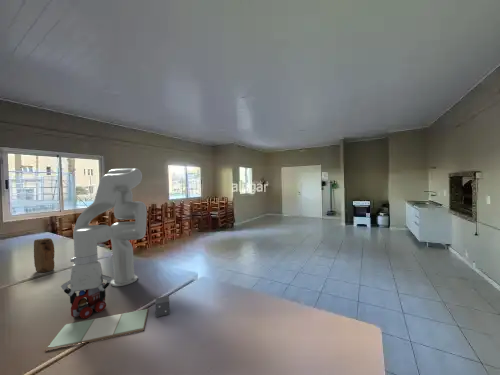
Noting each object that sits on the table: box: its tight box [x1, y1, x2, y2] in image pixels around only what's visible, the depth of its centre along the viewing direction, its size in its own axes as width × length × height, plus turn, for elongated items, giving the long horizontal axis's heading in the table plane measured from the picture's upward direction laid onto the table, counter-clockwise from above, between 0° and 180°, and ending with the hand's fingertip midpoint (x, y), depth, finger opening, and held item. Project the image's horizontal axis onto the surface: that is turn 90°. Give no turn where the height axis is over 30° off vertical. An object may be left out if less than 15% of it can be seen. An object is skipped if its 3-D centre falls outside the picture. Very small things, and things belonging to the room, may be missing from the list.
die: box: [155, 295, 171, 318], centre depth 91 cm, size 5×5×5 cm
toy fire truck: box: [70, 282, 107, 320], centre depth 93 cm, size 7×12×10 cm, turn 149°
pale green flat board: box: [47, 308, 149, 347], centre depth 83 cm, size 14×28×1 cm, turn 108°
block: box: [33, 237, 55, 273], centre depth 145 cm, size 11×8×20 cm
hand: (88, 302), depth 93 cm, fingers open, 9 cm apart
